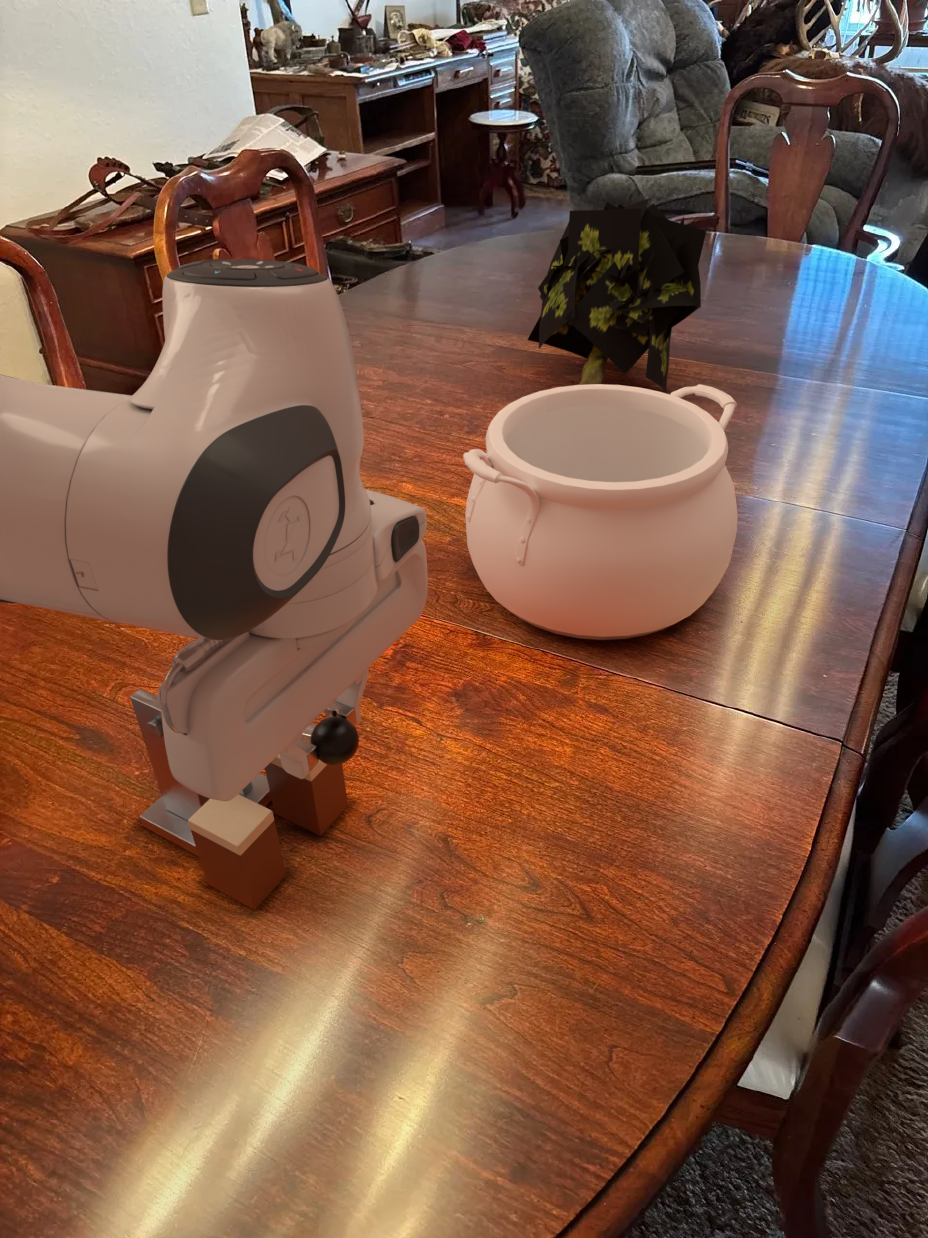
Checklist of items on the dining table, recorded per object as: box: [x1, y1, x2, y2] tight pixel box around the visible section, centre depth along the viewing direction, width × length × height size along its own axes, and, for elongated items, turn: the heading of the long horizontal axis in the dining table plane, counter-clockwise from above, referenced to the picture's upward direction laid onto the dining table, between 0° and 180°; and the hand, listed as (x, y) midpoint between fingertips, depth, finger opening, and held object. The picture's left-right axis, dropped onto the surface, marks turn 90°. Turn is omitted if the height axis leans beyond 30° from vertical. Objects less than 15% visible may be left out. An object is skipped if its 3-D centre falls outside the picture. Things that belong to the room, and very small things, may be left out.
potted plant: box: [527, 197, 708, 394], centre depth 129 cm, size 21×22×30 cm
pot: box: [462, 383, 739, 641], centre depth 90 cm, size 29×26×17 cm
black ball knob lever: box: [156, 694, 360, 765], centre depth 61 cm, size 17×3×3 cm, turn 59°
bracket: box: [129, 662, 272, 858], centre depth 68 cm, size 7×8×13 cm
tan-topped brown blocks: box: [188, 754, 349, 911], centre depth 67 cm, size 11×4×7 cm, turn 149°
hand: (323, 746), depth 58 cm, fingers closed on black ball knob lever, 3 cm apart
